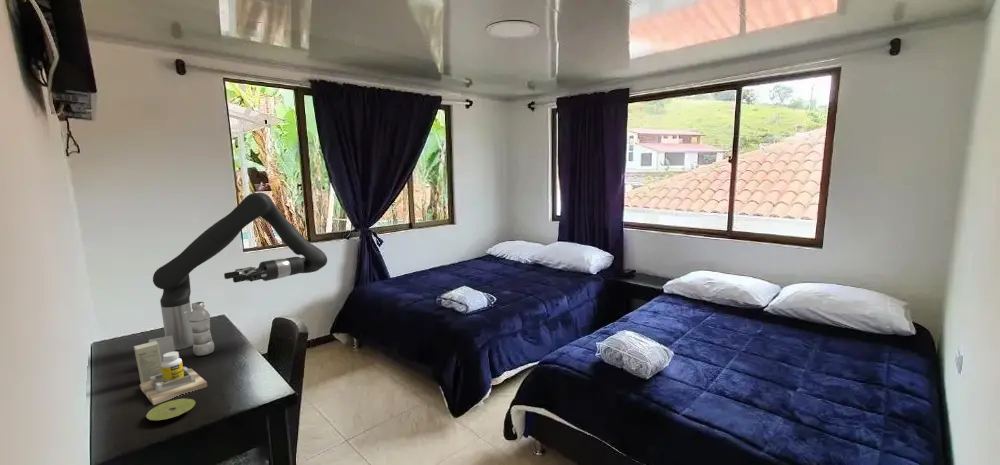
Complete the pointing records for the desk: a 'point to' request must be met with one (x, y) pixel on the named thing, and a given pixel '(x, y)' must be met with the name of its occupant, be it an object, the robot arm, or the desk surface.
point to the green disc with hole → (170, 409)
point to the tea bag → (164, 345)
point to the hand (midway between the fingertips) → (228, 278)
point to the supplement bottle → (171, 367)
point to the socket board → (172, 386)
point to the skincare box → (148, 360)
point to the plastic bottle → (201, 330)
